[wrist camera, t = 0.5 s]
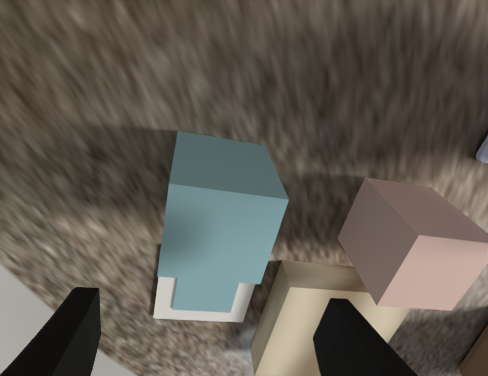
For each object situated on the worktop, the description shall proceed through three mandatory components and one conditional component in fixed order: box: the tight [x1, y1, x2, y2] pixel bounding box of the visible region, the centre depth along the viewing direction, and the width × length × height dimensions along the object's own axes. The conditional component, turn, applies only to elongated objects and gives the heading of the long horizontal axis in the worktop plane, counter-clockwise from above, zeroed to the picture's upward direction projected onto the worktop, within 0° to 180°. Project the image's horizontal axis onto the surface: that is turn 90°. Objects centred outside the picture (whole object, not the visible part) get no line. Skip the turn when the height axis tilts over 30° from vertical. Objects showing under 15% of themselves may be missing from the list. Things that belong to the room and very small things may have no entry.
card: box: [153, 277, 255, 322], centre depth 24 cm, size 7×7×1 cm
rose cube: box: [338, 177, 488, 311], centre depth 20 cm, size 5×5×6 cm
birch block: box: [250, 260, 411, 376], centre depth 26 cm, size 10×10×3 cm
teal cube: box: [157, 131, 289, 284], centre depth 17 cm, size 5×5×6 cm
